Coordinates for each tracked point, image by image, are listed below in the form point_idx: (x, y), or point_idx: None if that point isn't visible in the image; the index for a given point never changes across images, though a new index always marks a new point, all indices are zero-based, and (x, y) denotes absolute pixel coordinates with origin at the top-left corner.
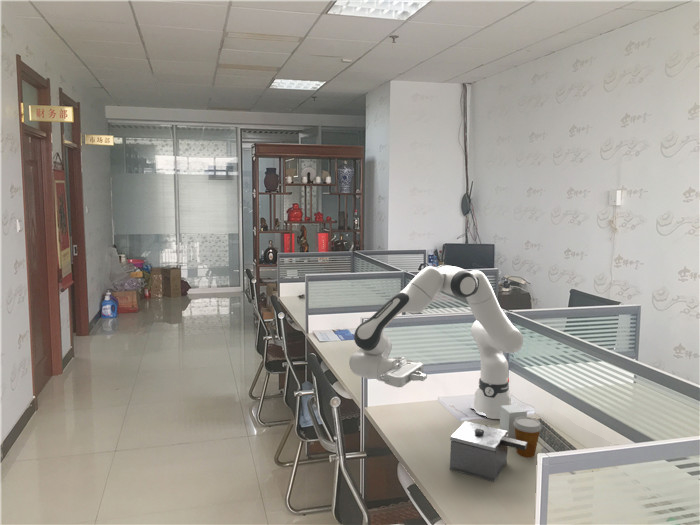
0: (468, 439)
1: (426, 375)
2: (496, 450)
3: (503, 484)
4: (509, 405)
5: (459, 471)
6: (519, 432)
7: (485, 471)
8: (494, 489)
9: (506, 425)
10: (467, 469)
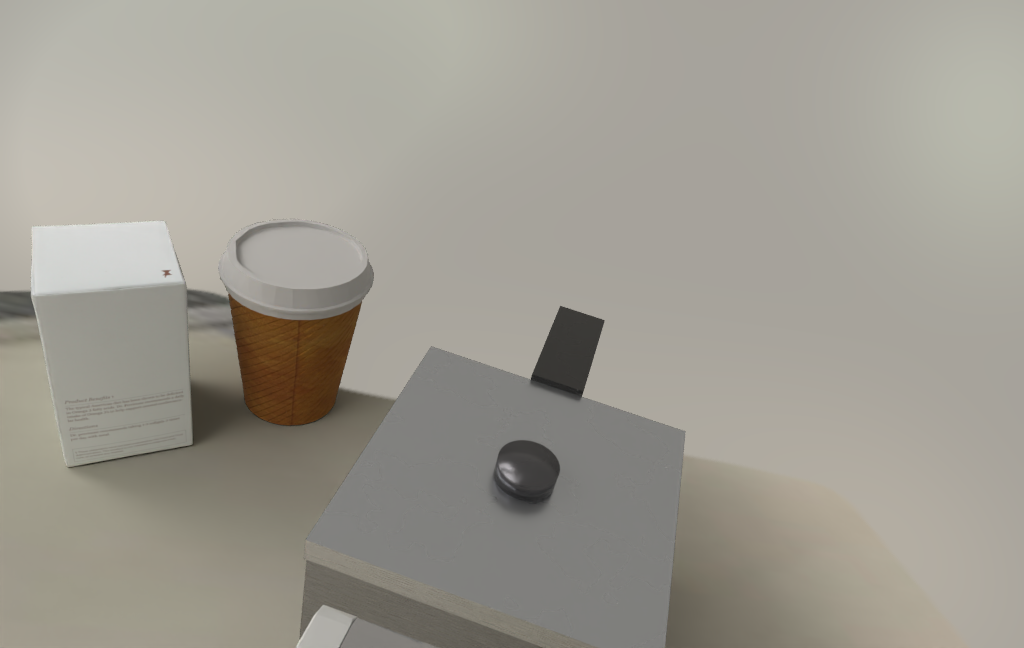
0: (647, 547)
1: (355, 618)
2: None
3: None
4: (43, 257)
5: None
6: (339, 323)
7: None
8: (693, 566)
9: (159, 364)
10: None
